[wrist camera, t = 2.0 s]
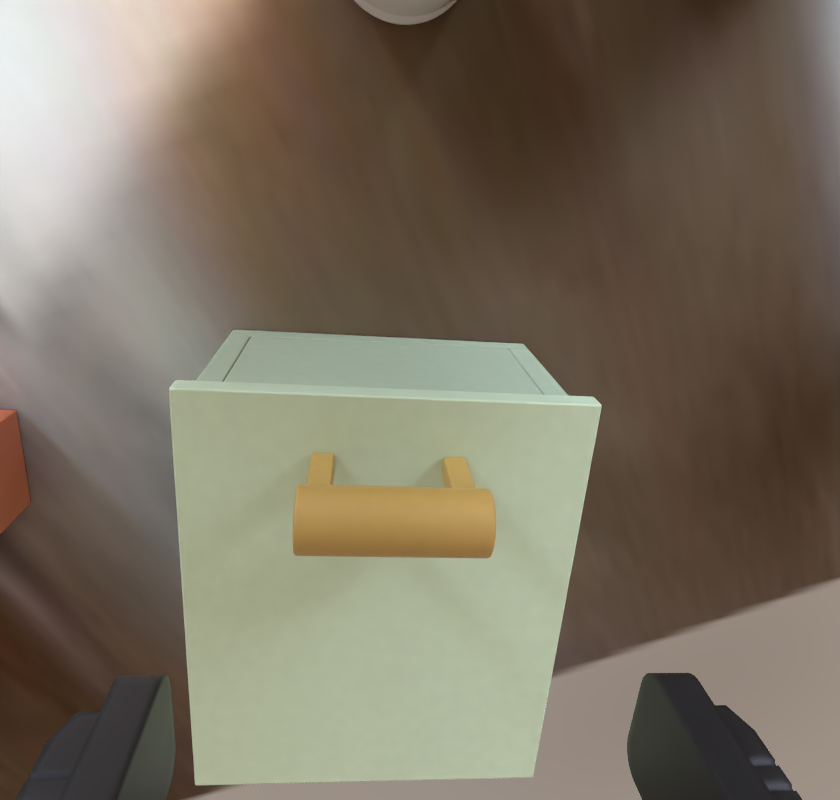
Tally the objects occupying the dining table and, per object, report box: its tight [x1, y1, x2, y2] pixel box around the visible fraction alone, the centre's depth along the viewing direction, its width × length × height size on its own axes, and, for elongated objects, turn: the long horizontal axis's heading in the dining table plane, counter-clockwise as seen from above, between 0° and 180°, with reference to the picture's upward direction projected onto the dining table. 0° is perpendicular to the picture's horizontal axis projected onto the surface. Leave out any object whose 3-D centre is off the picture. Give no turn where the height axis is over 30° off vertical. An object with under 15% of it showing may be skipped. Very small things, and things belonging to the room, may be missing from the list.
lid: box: [169, 380, 602, 785], centre depth 20 cm, size 16×13×5 cm
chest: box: [196, 330, 568, 396], centre depth 27 cm, size 15×13×9 cm
